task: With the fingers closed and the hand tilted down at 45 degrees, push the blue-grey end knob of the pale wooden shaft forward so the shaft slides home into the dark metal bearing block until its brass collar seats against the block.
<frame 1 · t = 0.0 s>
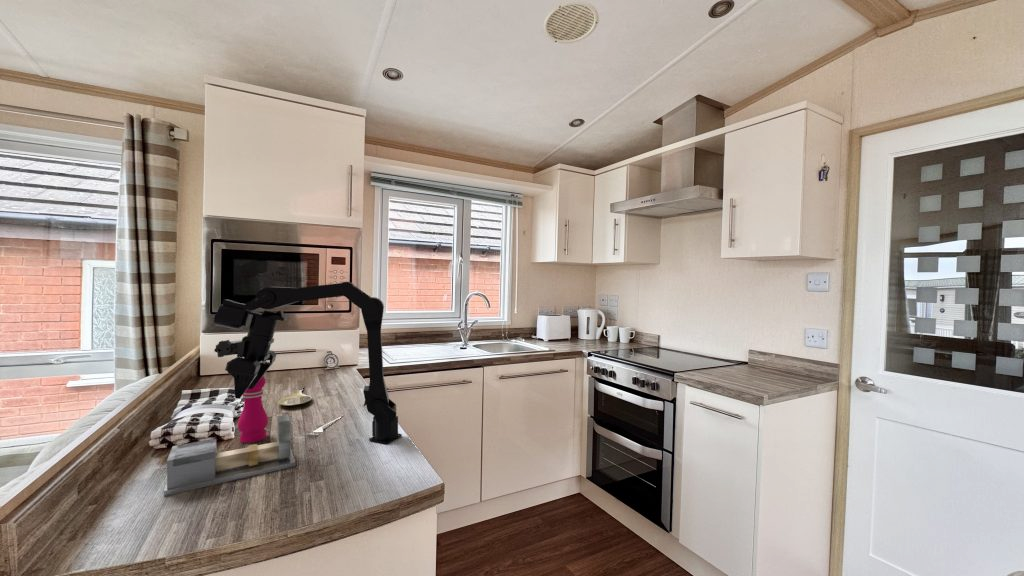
hand: (244, 393, 104), 15 cm above the worktop, tool pointing down, fingers open, 9 cm apart
shaft: (252, 442, 96), point 6 cm above the worktop, slide at 6.0 cm
fork: (327, 428, 124), on the worktop
pepper mill: (253, 439, 114), on the worktop
bearing block: (196, 479, 90), on the worktop
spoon: (297, 398, 155), on the worktop
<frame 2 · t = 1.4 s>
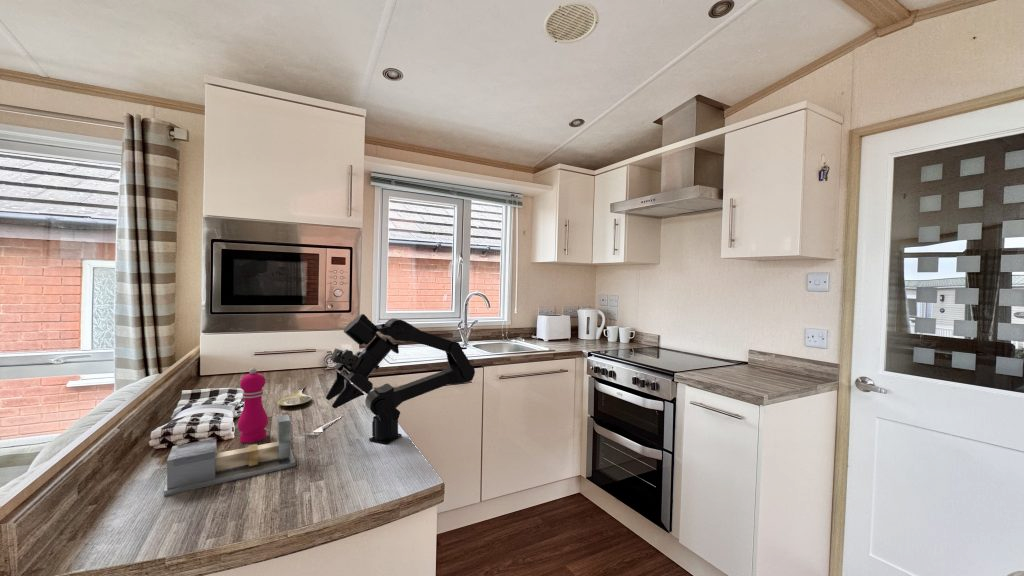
hand: (330, 403, 105), 12 cm above the worktop, tool tilted 45°, fingers open, 8 cm apart
nothing on the worktop moved.
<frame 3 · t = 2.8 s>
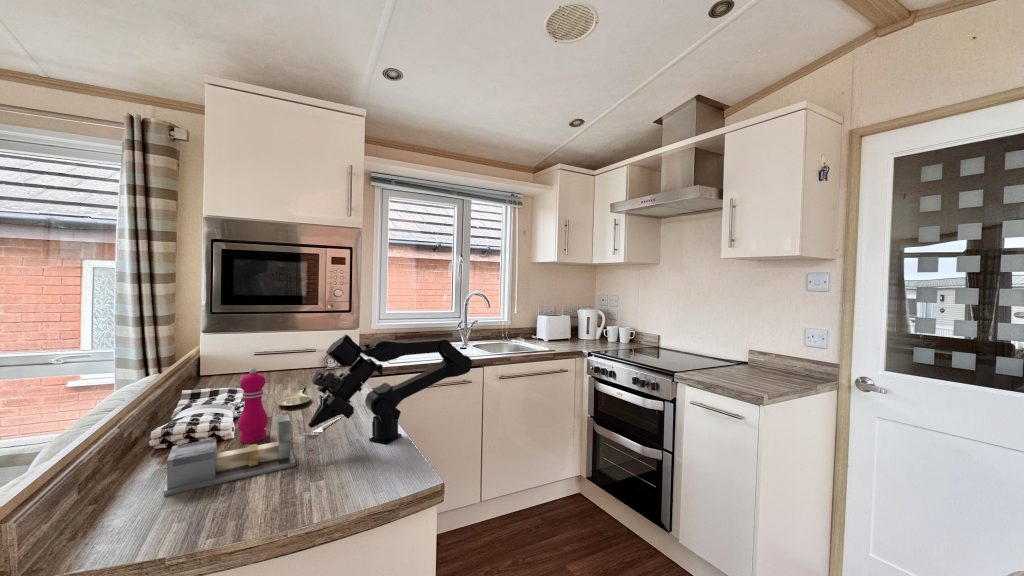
hand: (309, 426, 103), 7 cm above the worktop, tool tilted 45°, fingers closed
nothing on the worktop moved.
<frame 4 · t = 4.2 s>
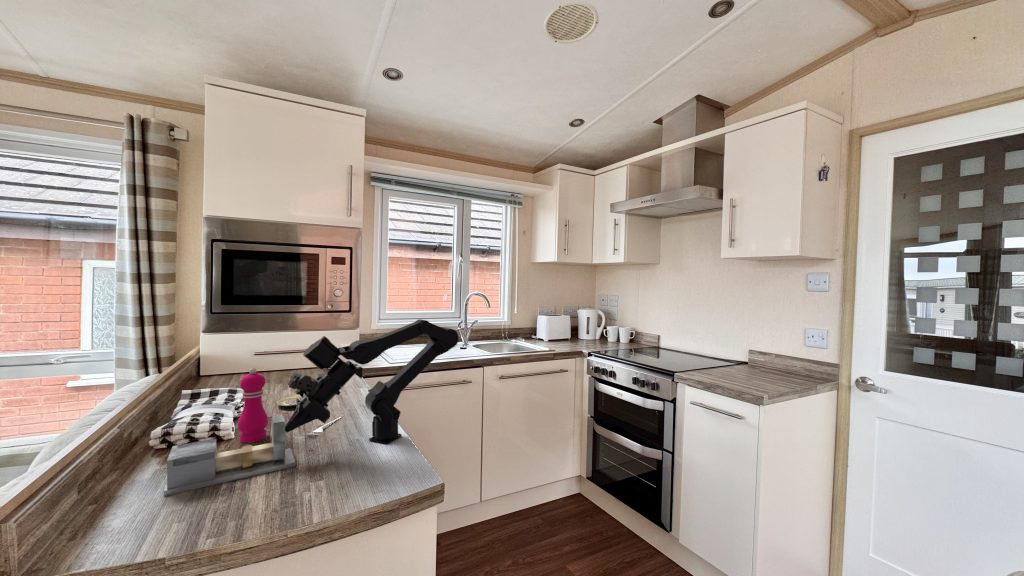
hand: (285, 430, 100), 7 cm above the worktop, tool tilted 45°, fingers closed, pressing on shaft
shaft: (246, 443, 95), point 6 cm above the worktop, slide at 4.9 cm, touching gripper
everything else where it was.
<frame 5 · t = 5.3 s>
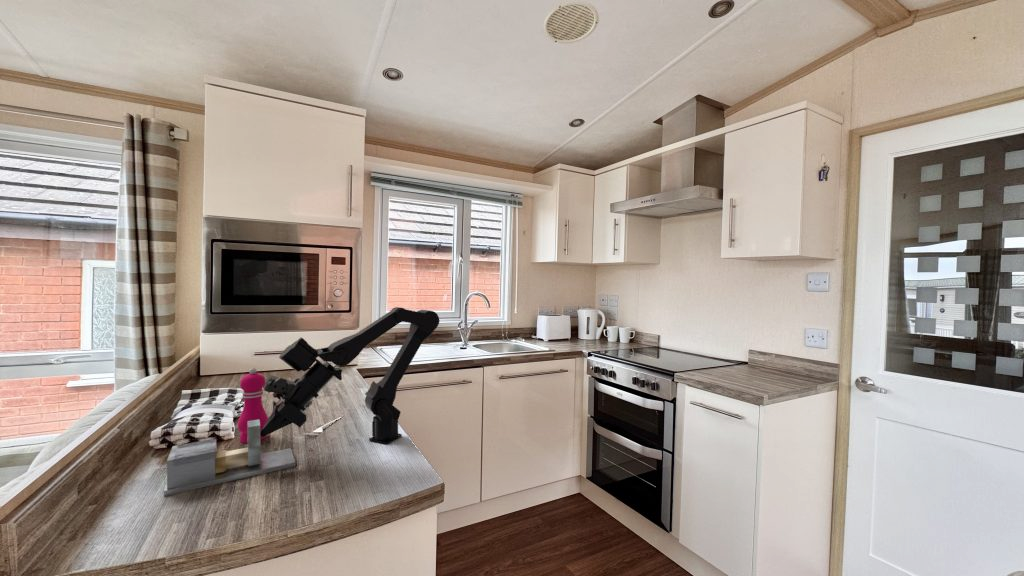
hand: (260, 435, 97), 7 cm above the worktop, tool tilted 45°, fingers closed, pressing on shaft
shaft: (220, 448, 92), point 6 cm above the worktop, slide at -0.2 cm, touching gripper
everything else where it was.
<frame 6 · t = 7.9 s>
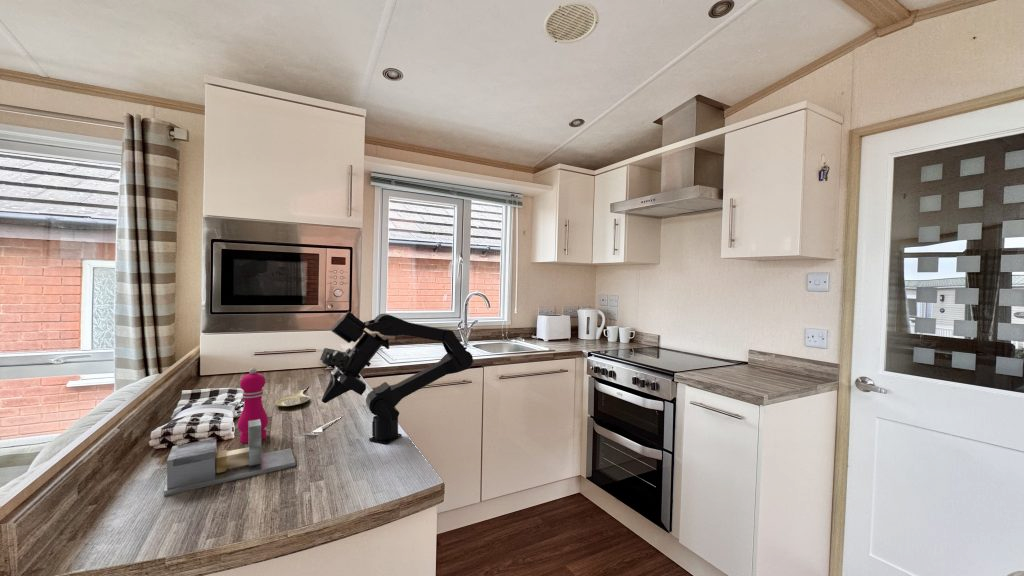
hand: (323, 402, 106), 13 cm above the worktop, tool tilted 40°, fingers closed
shaft: (221, 448, 92), point 6 cm above the worktop, slide at 0.0 cm
everything else where it was.
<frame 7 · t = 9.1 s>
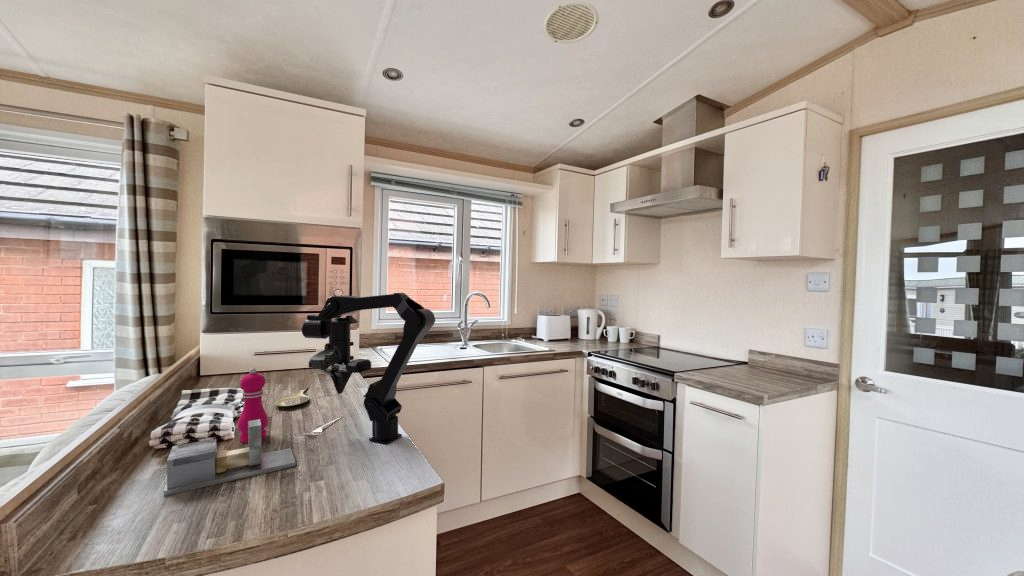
hand: (339, 393, 116), 12 cm above the worktop, tool pointing down, fingers closed
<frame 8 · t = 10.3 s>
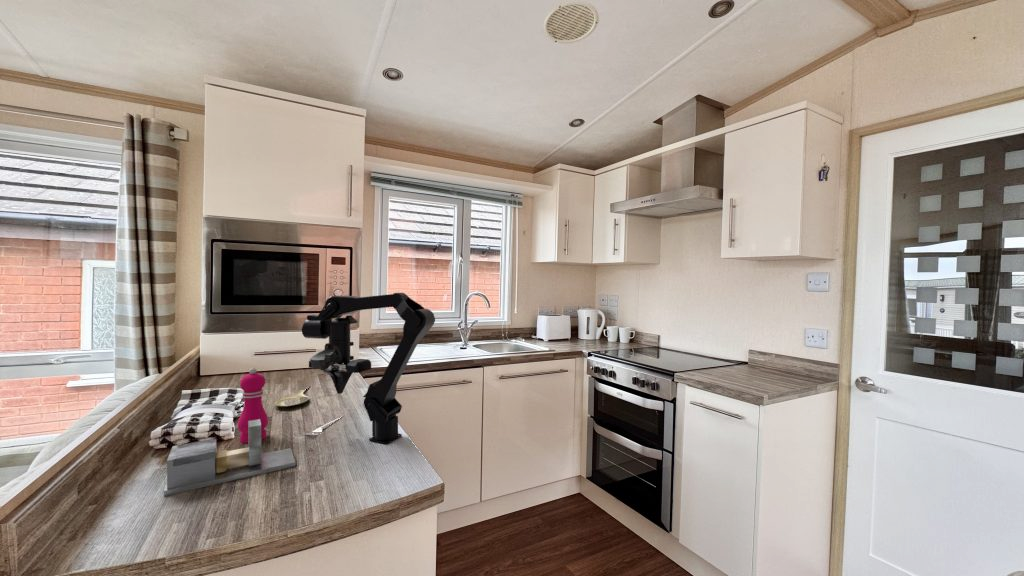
hand: (339, 393, 116), 12 cm above the worktop, tool pointing down, fingers closed
at the end: shaft slide at 0.0 cm; the gripper is holding nothing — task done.
